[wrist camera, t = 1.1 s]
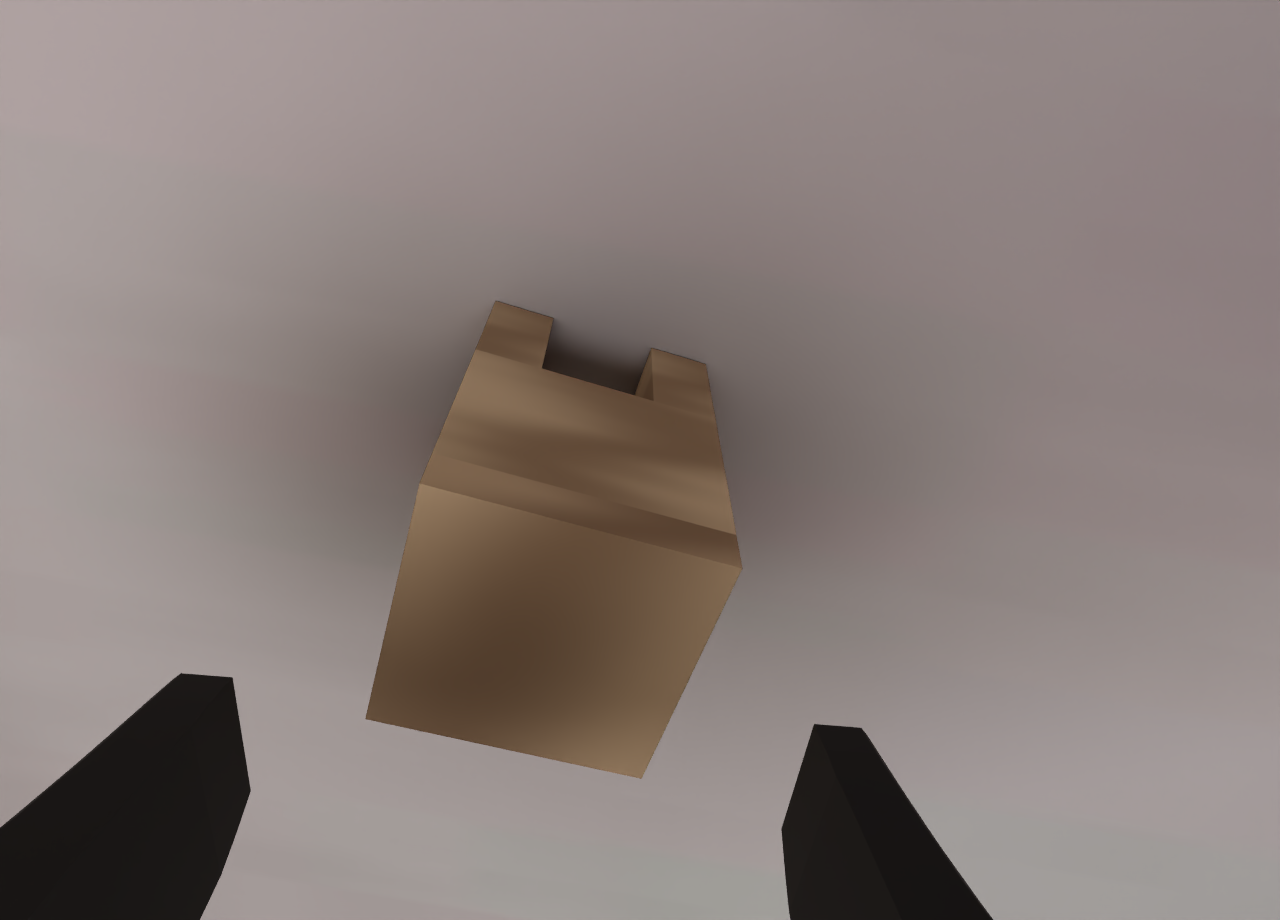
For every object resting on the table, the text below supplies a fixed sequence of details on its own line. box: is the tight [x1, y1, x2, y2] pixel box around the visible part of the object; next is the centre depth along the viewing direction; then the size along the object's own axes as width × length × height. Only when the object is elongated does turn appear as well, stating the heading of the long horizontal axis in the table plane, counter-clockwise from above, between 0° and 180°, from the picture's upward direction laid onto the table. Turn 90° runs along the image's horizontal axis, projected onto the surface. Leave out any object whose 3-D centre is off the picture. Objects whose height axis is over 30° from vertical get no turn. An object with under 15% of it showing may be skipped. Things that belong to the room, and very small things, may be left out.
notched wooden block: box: [366, 301, 742, 779], centre depth 16 cm, size 4×4×7 cm
